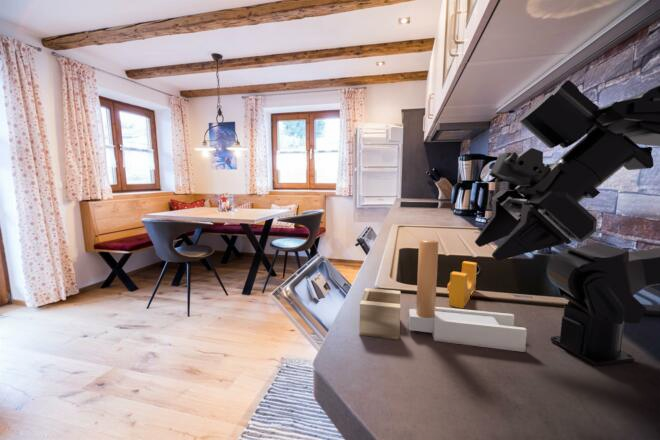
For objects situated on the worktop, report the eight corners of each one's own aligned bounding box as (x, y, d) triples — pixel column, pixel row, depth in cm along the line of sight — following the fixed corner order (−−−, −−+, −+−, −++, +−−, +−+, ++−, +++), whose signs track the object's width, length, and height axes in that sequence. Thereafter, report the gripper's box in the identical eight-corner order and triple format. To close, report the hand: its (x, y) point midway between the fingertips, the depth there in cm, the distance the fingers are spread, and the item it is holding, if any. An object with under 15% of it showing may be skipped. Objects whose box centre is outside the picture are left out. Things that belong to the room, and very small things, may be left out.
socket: (399, 318, 50) (400, 290, 50) (399, 339, 43) (400, 307, 43) (364, 315, 52) (365, 287, 51) (359, 334, 45) (359, 303, 44)
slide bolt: (492, 330, 45) (498, 242, 43) (498, 340, 42) (505, 246, 40) (408, 321, 48) (411, 238, 46) (409, 329, 45) (412, 242, 43)
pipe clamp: (454, 287, 67) (455, 259, 66) (475, 291, 64) (476, 262, 64) (439, 303, 57) (441, 271, 56) (463, 309, 55) (465, 276, 54)
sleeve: (511, 333, 45) (512, 314, 45) (525, 351, 40) (526, 330, 40) (430, 324, 48) (431, 306, 48) (433, 340, 43) (434, 320, 43)
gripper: (507, 141, 48) (436, 207, 52) (570, 114, 30) (455, 218, 34) (559, 188, 47) (483, 252, 51) (656, 188, 29) (527, 287, 33)
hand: (484, 250), depth 42 cm, fingers open, 9 cm apart
